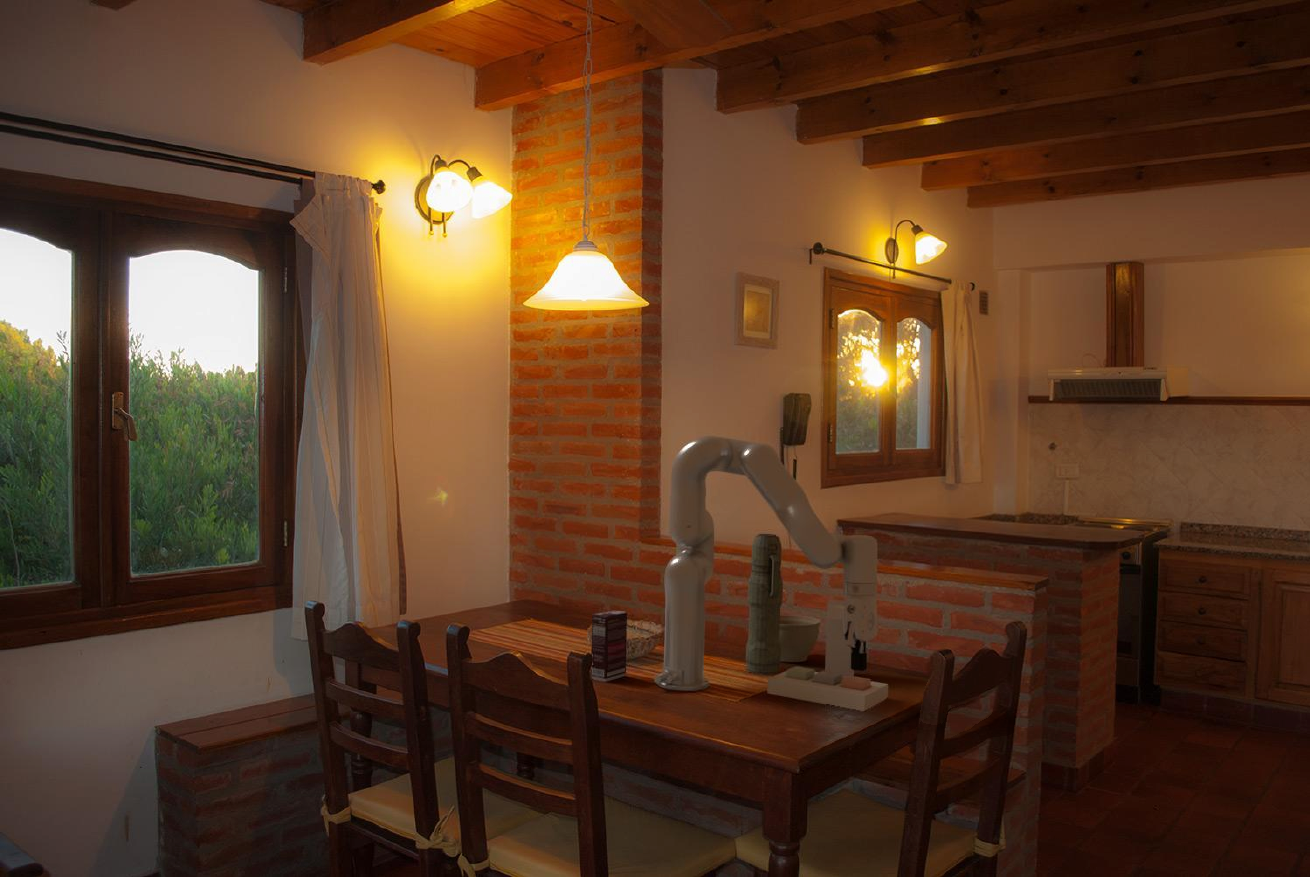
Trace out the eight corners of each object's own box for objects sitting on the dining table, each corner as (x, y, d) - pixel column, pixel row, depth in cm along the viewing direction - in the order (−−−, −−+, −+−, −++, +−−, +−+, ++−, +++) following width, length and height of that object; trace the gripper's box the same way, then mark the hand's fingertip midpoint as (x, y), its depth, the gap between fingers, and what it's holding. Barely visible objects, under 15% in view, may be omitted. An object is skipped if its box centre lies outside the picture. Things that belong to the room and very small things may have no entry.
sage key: (805, 683, 234) (805, 673, 234) (786, 680, 237) (786, 669, 237) (814, 680, 239) (814, 669, 239) (795, 676, 241) (795, 666, 241)
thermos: (761, 677, 250) (765, 537, 250) (735, 667, 261) (740, 532, 261) (790, 674, 254) (795, 536, 254) (764, 664, 265) (768, 532, 265)
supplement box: (611, 673, 250) (613, 609, 250) (626, 676, 247) (628, 612, 247) (589, 679, 243) (591, 613, 243) (604, 682, 240) (607, 616, 240)
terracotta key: (861, 694, 227) (862, 683, 227) (841, 690, 229) (841, 679, 229) (870, 690, 231) (870, 679, 231) (850, 686, 233) (850, 675, 233)
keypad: (864, 711, 221) (864, 694, 221) (767, 693, 235) (767, 676, 235) (887, 699, 233) (888, 682, 233) (794, 682, 246) (794, 666, 246)
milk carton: (853, 679, 251) (856, 604, 251) (824, 677, 253) (827, 602, 253) (853, 673, 258) (856, 599, 258) (825, 671, 260) (828, 598, 260)
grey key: (833, 688, 230) (833, 678, 230) (813, 685, 233) (813, 674, 233) (842, 684, 235) (842, 674, 235) (822, 681, 237) (822, 670, 237)
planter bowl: (807, 652, 282) (808, 614, 282) (827, 666, 266) (828, 625, 266) (752, 653, 279) (753, 614, 279) (768, 666, 263) (769, 624, 263)
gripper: (862, 595, 222) (861, 678, 222) (887, 587, 234) (886, 666, 234) (831, 591, 226) (829, 673, 226) (857, 584, 238) (856, 662, 238)
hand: (858, 669), depth 230 cm, fingers closed
